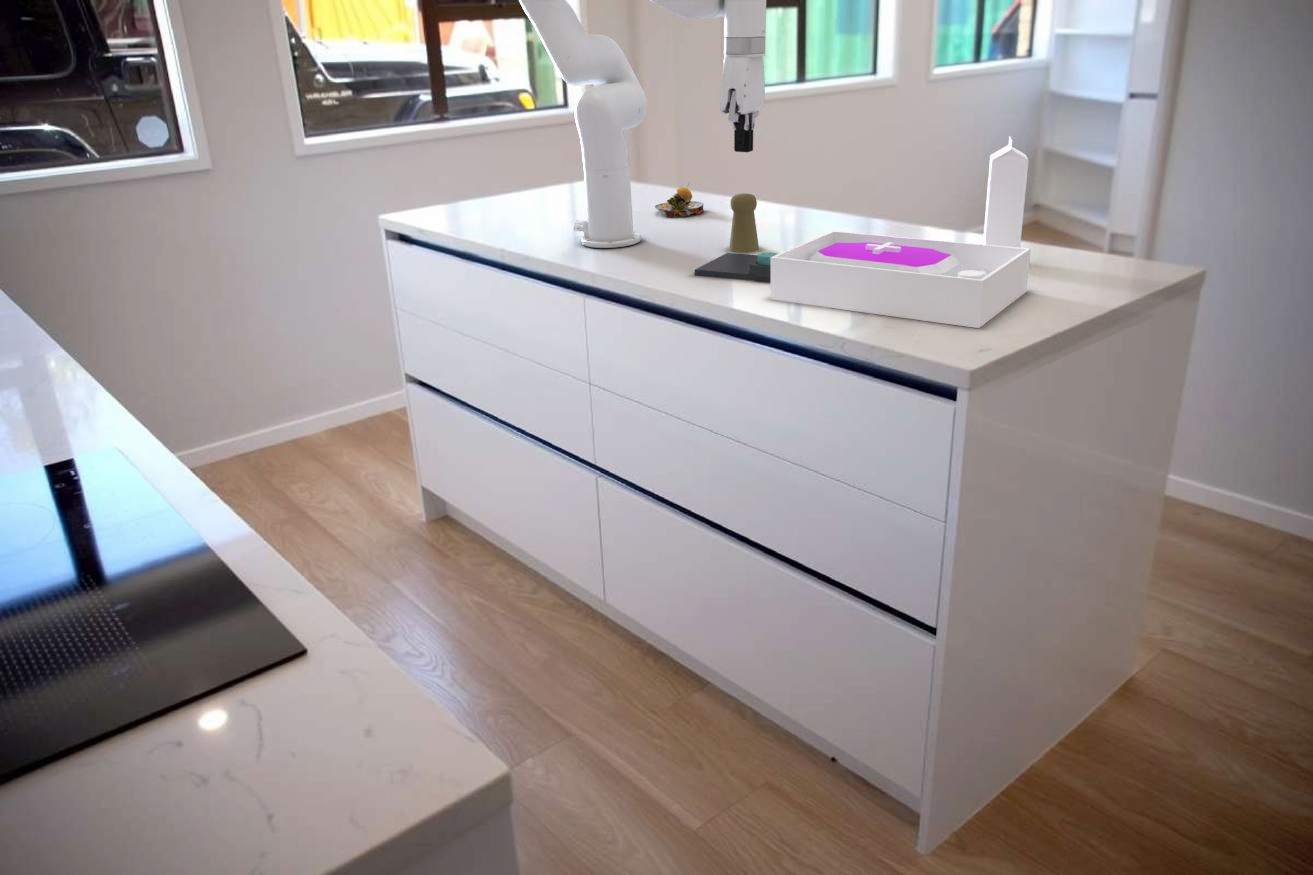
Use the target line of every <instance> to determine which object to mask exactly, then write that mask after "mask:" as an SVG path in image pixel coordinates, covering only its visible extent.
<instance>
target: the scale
mask: <svg viewBox="0 0 1313 875" xmlns="http://www.w3.org/2000/svg"><path fill="white" fill-rule="evenodd" d="M693 271H694V276H695V277H696V276H697V277H707V278H717V279H728V280H739V281H751V282H762V283H771V265H760V264H758V254H750V253H736V252H726V253H724V254H722V255H720V256H718V257H716V258H714V259H712V260H710V261H709V262H706V263H705V264H703V265H701V266H699V267H697V268H695V269H694V270H693Z"/></svg>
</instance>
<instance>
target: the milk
mask: <svg viewBox="0 0 1313 875" xmlns="http://www.w3.org/2000/svg"><path fill="white" fill-rule="evenodd" d="M1029 160H1030V159H1029V158H1028V156H1027V155H1026V154H1025V153H1024V152H1023V151H1021V150H1019V149H1017V148H1015V147H1013V139H1012V137H1011V136H1010V135H1009V136H1008V144H1007V145H1006V146H1004V147H1002V148H1000V149H998V150H997V151H995V152H993V153H991V154H990V155H989V164H988V165H989V166H988V177H987V178H988V179H987V188H986V189H987V190H986V202H985V214H984V223H983V224H984V226H983V237H982V244H984V245H995V246H1006V247H1017V248H1021V243H1022V232H1023V222H1024V212H1025V201H1026V194H1027V193H1026V192H1027V183H1028V182H1027V180H1028V172H1029V171H1028V170H1029Z"/></svg>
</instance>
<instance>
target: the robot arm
mask: <svg viewBox="0 0 1313 875" xmlns="http://www.w3.org/2000/svg"><path fill="white" fill-rule="evenodd" d="M648 1H649V2H651V3H652V4H653V5H656V6H657V7H659V8H662V9H664V10H665V11H668V12H669V13H672V14H673V15H675V16H678V17H680V18H683V19H687V20H702V19H717V18H723V20H724V21H723V22H724V23H723V25H724V26H723V37H724V38H723V48H724V49H723V57H724V58H723V63H722V70H721V80H720V82H721V83H720V101H719V104H720V105H719V107H720V108H719V109H720V112H721V113H722V114H728V118H727V119H728V120H727V121H729V122H731V123H732V127H733V131H734V132H733V136H734V137H733V138H734V140H733V142H734V143H733V150H734V152H735V153H750V152H753V151H754V129H755V125H756V124H755V123H756V118H757V117H758V116H759V114H760V110H762V109H763V108H764V105H765V98H766V97H765V96H766V94H765V93H766V87H765V86H766V84H765V83H766V82H765V80H766V78H765V63H764V62H765V61H764V57H766V38H767V37H766V36H767V35H766V33H767V32H766V31H767V0H648ZM518 2H519V4H520V5H521V7H522V9H523V11H524V13H525V14H526V16H527V18H528V19H529V20H530V22H531V24H532V25H533V27H534V29H535V31H536V32H537V35H538V36H539V38H540V41H541V42H542V44H543V47H544V48H545V50H546V52H547V54H548V56H549V57H550V60H551V61H552V63H553V66H554V67H555V69H556V71H557V72H558V74H559V76H560V77H561V79H562V80H563V81H564V82H565V83H566V84H568V85H569V86H575V87H581V86H588V85H593V86H590V87H588V88H587V89H585V90H584V91H583V92H581V93H580V95H579V96H578V98H577V100H576V102H575V106H574V120H575V124H576V128H577V132H578V135H579V140H580V141H579V142H580V146H581V154H582V155H581V156H582V165H583V167H582V168H583V176H584V178H583V179H584V191H585V205H586V217H587V218H586V220H576V221H575V223H574V226H573V230H574V232H583V236H582V237H581V244H582V245H583V246H585V247H588V248H596V249H613V248H614V249H615V248H623V247H628V246H633V245H636V244H639V243H640V241H642V235H641V233H639V232H636V231H634V224H633V223H634V222H633V202H632V188H631V187H632V186H631V184H632V183H631V169H630V166H631V165H630V155H629V149H628V146H627V142H626V138H625V137H624V133H623V132H624V131H627V130H631V129H635V128H636V127H638V126H639V125H641V124H642V123H643V121H645V118H646V116H647V114H648V112H647V111H648V102H647V97H646V94H645V91H644V90H643V88H642V86H641V83H640V81H639V79H638V77H637V76H636V74H635V71H634V70H633V68H632V66H631V64H630V62H629V61H628V59H627V57H626V55H625V53H624V51H623V50H622V48H621V47H620V46H619V44H618V43H617V42H616V41H615V40H614V39H613V38H611V37H610V36H608V35H605V34H600V33H593V34H590V33H588V32H587V31H586V30H585V28H584V27H583V25H582V24H581V22H580V20H579V18H578V16H577V14H576V11H575V10H574V9H573V7H572V6H571V5H570V3H569V2H568V1H567V0H518Z"/></svg>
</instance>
